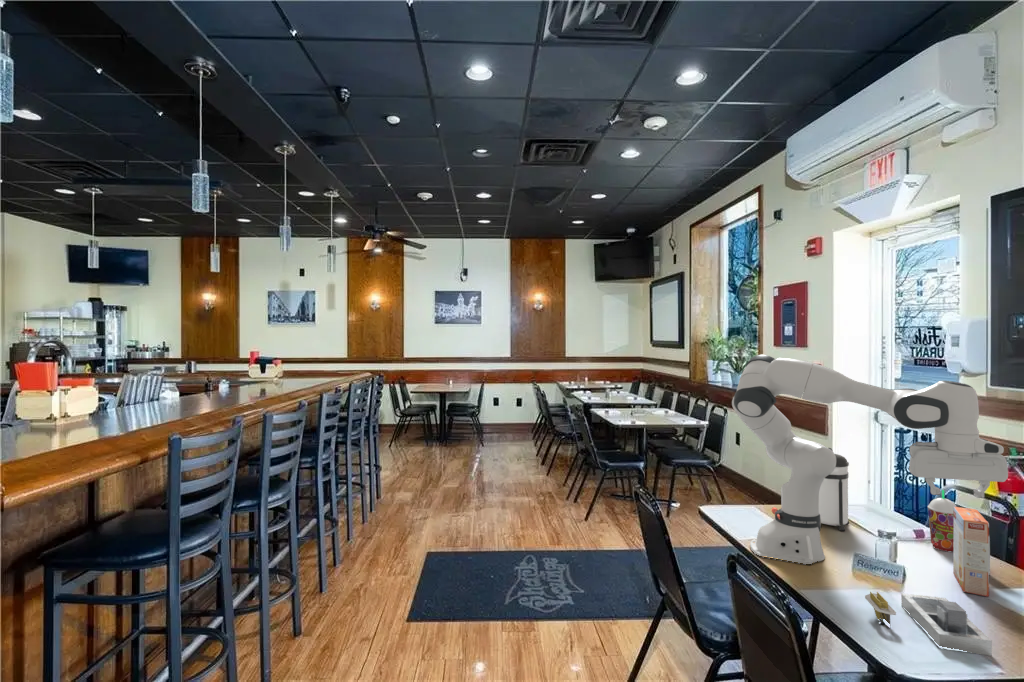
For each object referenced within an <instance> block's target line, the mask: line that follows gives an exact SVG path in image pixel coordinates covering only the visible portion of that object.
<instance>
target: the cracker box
mask: <svg viewBox="0 0 1024 682" xmlns="http://www.w3.org/2000/svg"><path fill="white" fill-rule="evenodd" d="M953 512H954V514H953V515H954V551H953V557H952V558H953V559H952V560H953V565H952V566H953V568H952V570H953V572H952V573H953V575H954V577H955V579H956V581H957V583H958V585H959V587H960V588H961V590H962V592H963V593H968V594H973V595H976V596H977V595H978V596H983V597H987V598H988V597H989V596H990V595H989V593H990V586H989V585H990V582H989V581H990V576H989V536H990V523H989V521H987V520H986V518H985V517H984V516H983V515H982V514H981V513H980V512H979V511H978V509H975V508H967V507H960V506H956V507H954V510H953Z"/></svg>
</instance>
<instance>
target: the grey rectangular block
mask: <svg viewBox="0 0 1024 682" xmlns="http://www.w3.org/2000/svg"><path fill="white" fill-rule="evenodd" d="M967 618H968V614H967V611H966V610H965V609H964V608H963V607H961V606H960V605H959V604H958V603H957V602H956V601H949V600H948V601H940V600H938V606H937V625H938V626H939V627H940V628H941V629H942V630H943V631H944V632H952V633H960V634H967Z"/></svg>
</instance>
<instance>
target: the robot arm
mask: <svg viewBox="0 0 1024 682" xmlns="http://www.w3.org/2000/svg"><path fill="white" fill-rule="evenodd" d="M743 369H744V370H743V371H742V373H741V375H740V377H739V379H738V380H739V381H738V384H737V387H736V392H735V393H734V396H733V398H732V400H731V406H732V408H733V410H734V413H736V415H737V417H739V419H740V420H741V421H742V423H743V424H745V426H746V427H747V428H748V429H749V430H750V431H751V432H752V433H753V434H754V435H755V436H756V437H757V438H758V439H759V440H760V441H761V442H762V443H763V445H764V446H765V452H766V455H767V457H768V458H769V459H770V460H772V461H773V462H775V463H776V464H778V465H780V466H782V467H785V468H787V469H790V470H791V471H790V476H789V479H788V481H786V482H784V483H783V484H782V485H781V488H780V492H781V493H780V497H781V498H780V499H781V500H780V501H781V503H780V504H781V505H780V506H781V508H779V509H778V508H777V507H775V506H774V507H772V508H771V513H772V514H773V515H774V519H772V520H771V521H769V522H767V524H766V523H765V525H763V526H761V527H760V528H759V529H758V532H757V535H756V539H755V538H754V539H752V540H750V542H749V548H750V547H751V548H750V550H751V551H753V552H754V555H756V554H757V555H759V556H767V557H773V558H778V559H783V560H787V561H786V562H788V561H792V562H791V563H794V562H798V563H797V564H800V563H803V564H802V565H806V564H811V565H812V563H813V562H814V563H817V561H818V562H822V561H823V560H825V558H826V556H825V553H824V549H823V546H822V545H823V544H822V540H821V533H820V532H821V528H822V527H821V526H822V523H821V518H820V514H819V490H820V487H821V484H822V482H823V480H824V478H825V477H826V476H828V475H829V474H831V473H832V472H833V471H834V469H835V467H836V456H835V454H836V453H835V452H834V451H833V449H832V448H831V449H832V450H831V449H829V448H830V447H827V446H825V445H823V443H822V444H821V443H820V442H817V441H813V440H808V439H806V438H803V437H800V436H798V435H796V434H795V433H794V432H793V431H792V424H791V421H790V420H789V419H788V418H787V417H786V415H784V413H782V412H781V411H780V410H779V409H778V408H777V407H776V405H775V404H776V403H777V398H776V397H777V396H779V395H789V396H792V397H796V398H798V399H802V400H805V401H810V402H815V403H819V404H820V403H821V404H833V403H837V402H850V403H855V404H857V405H858V404H859V405H862V406H865V407H869V408H873V409H877V410H879V411H880V410H881V411H883V412H885V413H886V414H888V415H889V416H891V418H893V419H894V420H896V421H897V422H898V423H899V424H900V425H902V426H904V427H906V428H908V429H912V430H913V429H914V430H920V429H930V428H934V441H927V442H926V441H925V442H924V441H915V442H914V443H912V444H911V445H910V446H909V456H910V458H909V463H908V464H909V465H908V468H909V469H908V470H909V472H910V474H911V475H912V476H914V477H916V478H924V480H925V482H926V483H927V485H928V486H929V487H930V494H931V495H932V496H940V495H941V488H939V487H937V486H936V485H935V484H934V483H936V479H941V480H942V479H944V480H964V481H978V483H979V484H980V485H979V486H978V487H977V489H975V488H974V489H973V496H974V497H975V498H977V499H984V498H985V493H986V491H987V489H988V488H989V487H990V486H991V485H990V484H991V482H995V483H998V482H999V483H1004V482H1006V480H1008V478H1009V467H1008V463H1007V459H1006V457H1005V456H1004V455H1002V454H1003V453H1004V452H1005V449H1004V446H1002V445H1001V444H998V443H995V442H993V441H989V440H987V439H984V438H981V437H980V431H979V428H978V420H979V418H980V411H979V410H980V409H979V408H980V407H979V399H978V398H979V397H978V393H977V391H976V389H975V388H974V387H973V386H972V385H969V384H967V383H964V382H963V383H962V382H958V381H952V380H938V381H937V382H935V383H934V384H932V385H930V386H927V387H925V388H924V387H923V388H921V389H916V388H914V389H913V388H907V387H906V388H904V387H903V388H897V389H895V388H894V389H893V388H892V389H889V388H883V387H880V386H876V385H873V384H868V383H865V382H861V381H857V380H855V379H852V378H850V377H848V376H846V375H845V374H843V373H840V372H839V371H838V370H834V369H833V368H830V367H828V366H824V365H821V364H819V363H815V362H811V361H807V360H802V359H796V358H789V357H788V358H786V357H777V358H774V357H772V356H771V355H766V354H757V355H754V356H752V357H751V358H750V359H749V360H748V362H747V363H746V365H745V368H743ZM753 542H755V543H753ZM753 552H752V553H753ZM757 555H756V556H757ZM759 556H758V557H759ZM814 563H813V564H814Z"/></svg>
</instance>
